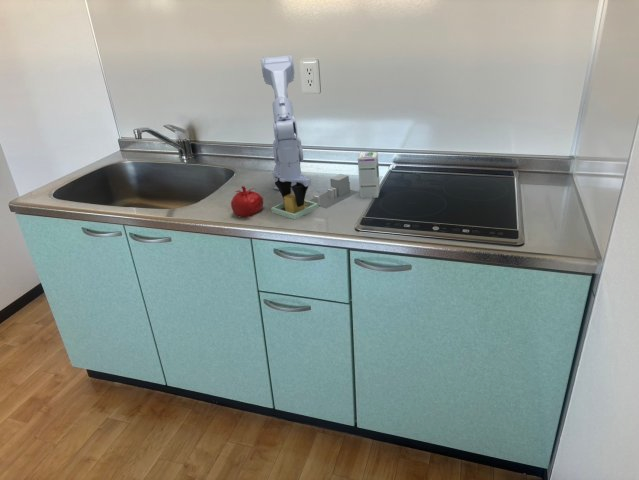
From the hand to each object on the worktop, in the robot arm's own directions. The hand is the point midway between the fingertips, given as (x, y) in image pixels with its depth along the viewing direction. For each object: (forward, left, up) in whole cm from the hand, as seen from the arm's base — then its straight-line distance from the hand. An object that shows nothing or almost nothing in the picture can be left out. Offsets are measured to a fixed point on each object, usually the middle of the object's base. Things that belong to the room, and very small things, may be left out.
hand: (294, 203), depth 150 cm
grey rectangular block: (+3, +18, -2) cm, 18 cm away
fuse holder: (+3, +14, -3) cm, 15 cm away
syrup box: (+12, +22, -3) cm, 25 cm away
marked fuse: (0, 0, -3) cm, 3 cm away
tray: (0, 0, -3) cm, 3 cm away
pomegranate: (-13, -8, -3) cm, 16 cm away
